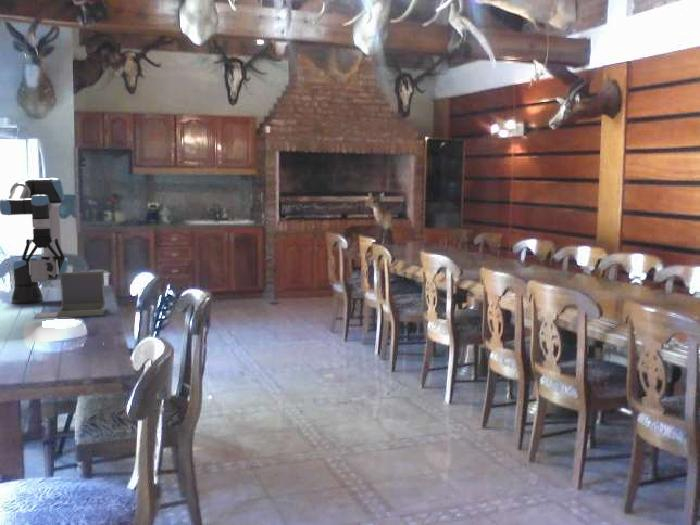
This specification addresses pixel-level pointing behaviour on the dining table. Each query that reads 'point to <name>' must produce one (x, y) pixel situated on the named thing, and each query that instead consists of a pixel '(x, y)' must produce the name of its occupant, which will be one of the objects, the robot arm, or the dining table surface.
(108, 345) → the dining table surface
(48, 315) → the trivet
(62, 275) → the case
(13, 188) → the robot arm
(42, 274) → the mug
